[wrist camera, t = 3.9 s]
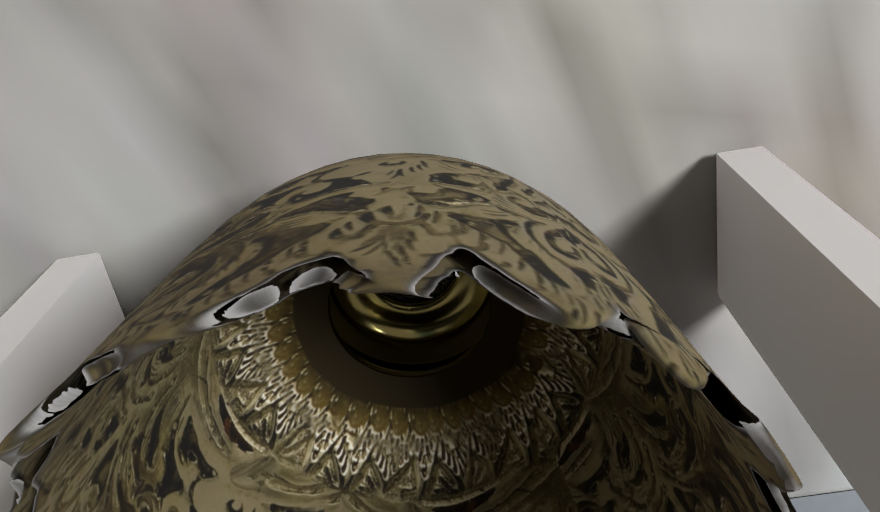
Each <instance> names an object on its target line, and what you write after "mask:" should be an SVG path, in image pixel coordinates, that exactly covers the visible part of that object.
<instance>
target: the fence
mask: <svg viewBox="0 0 880 512" xmlns="http://www.w3.org/2000/svg"><path fill="white" fill-rule="evenodd" d="M790 501H791V503H792V505H793V506H794V508H795V510H796V512H870V511H869V510H868V508H867V507H866V505H865V504H864V502H863V501H862V500H861V498H860V497H859V495H858V494H857V492H856V491H855V490H852V491H845V492H837V493H830V494H822V495H815V496H807V497H800V498H793V499H790Z"/></svg>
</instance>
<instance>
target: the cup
mask: <svg viewBox="0 0 880 512" xmlns="http://www.w3.org/2000/svg"><path fill="white" fill-rule="evenodd" d="M453 271H455V277H454V279H453V281H452V283H451V284H450V286H449V287H448V288H447V289H446V290H445V291H444V292H443V293H442V294H440V295H439V296H437V297H435V298H433V297H429V296H430V295H429V294H430V293H432V291H434V289H435V288H436V286H437V284H438V282H439V281H440V280H442V279H443V278H445V277H448V276H450V274H451V273H452V272H453ZM382 293H399V294H408V295H414V296H420V297H425V298H433V299H431V300H428V301H425V302H420V303H403V302H398V301H395V300H392V299H390V298H388V297H386V296H385V295H383V294H382ZM0 460H1V461H4V462H5V463H7V464H8V465H10V466H11V467H13V465H14V464H15V463H16V465H15V466H14V468H13V470H12V472H11V475H10V477H11V478H12V479H14V480H12V481H10V482H9V484H10V485H11V486H12V487H13V488H14V489H15V490H14V495H13V501H12V506H11V509H10V511H9V512H796V510H795V508H794V506H793V505H792V503H791V501H790V499H789V497H788V495H787V492H794V491H797V490H799V489H801V488H802V486H803V485H802V483H801V481H800V479H799V477H798V476H797V474H796V472H795V471H794V469H793V467H792V466H791V464H790V462H789V461H788V459H787V458H786V456H785V454H784V453H783V452H782V450H781V449H780V447H779V446H778V444H777V443H776V441H775V440H774V438H773V437H772V435H771V434H770V433H769V431H768V430H767V429H766V427H765V426H764V425H763V423H762V422H761V420H760V419H759V418H758V417H757V416H755V415H754V414H753V413H752V412H750V411H749V410H748V409H747V408H746V407H745V406H744V405H742V404H741V402H740V401H739V400H738V399H737V398H736V397H735V396H734V395H733V394H732V393H731V391H730V390H729V389H728V388H727V387H726V385H725V384H724V383H723V382H722V381H721V379H720V378H719V377H718V376H717V375H716V374H715V372H714V371H713V370H712V369H711V368H710V366H709V365H708V364H707V363H706V361H705V360H704V359H703V358H702V357H701V355H700V354H699V353H698V352H697V351H696V349H695V348H694V347H693V346H692V345H691V343H690V342H689V341H688V340H687V339H686V337H685V336H684V335H683V334H682V333H681V331H680V330H679V329H678V328H677V327H676V325H675V324H674V323H673V322H672V321H671V319H670V318H669V317H668V316H667V315H666V313H665V312H664V311H663V310H662V309H661V308H660V306H659V305H658V304H657V303H656V302H655V300H654V299H653V298H652V297H651V296H650V295H649V293H648V292H647V291H646V290H645V289H644V288H643V287H642V285H641V284H640V283H639V282H638V281H637V280H636V278H635V277H634V276H633V275H632V274H631V273H630V271H629V270H628V269H627V268H626V267H625V266H624V265H623V263H622V262H621V261H620V260H619V259H618V258H617V257H616V255H615V254H614V253H613V252H612V251H611V250H610V249H609V248H608V247H607V246H606V245H605V244H604V243H603V242H602V241H601V240H600V239H599V238H598V237H597V236H596V235H595V234H593V233H592V232H591V231H590V230H589V229H588V228H587V227H586V226H584V225H583V224H582V223H581V222H580V221H579V220H578V219H577V218H575V217H574V216H573V215H572V214H571V213H569V212H568V211H567V210H566V209H564V208H563V207H562V206H560V205H559V204H557V203H556V202H554V201H553V200H552V199H550V198H549V197H547V196H546V195H544V194H543V193H541V192H539V191H537V190H535V189H534V188H532V187H530V186H528V185H526V184H524V183H522V182H521V181H519V180H517V179H515V178H513V177H511V176H509V175H506V174H504V173H501V172H499V171H496V170H494V169H491V168H489V167H486V166H483V165H480V164H476V163H472V162H469V161H465V160H462V159H457V158H451V157H445V156H439V155H432V154H415V153H396V154H378V155H371V156H365V157H359V158H353V159H349V160H345V161H341V162H338V163H334V164H330V165H327V166H324V167H321V168H319V169H316V170H314V171H311V172H309V173H306V174H304V175H301V176H299V177H296V178H294V179H292V180H290V181H288V182H286V183H284V184H282V185H280V186H278V187H277V188H275V189H273V190H271V191H269V192H267V193H265V194H264V195H263V196H261V197H260V198H258V199H257V200H255V201H254V202H253V203H251V204H250V205H248V206H247V207H246V208H244V209H243V210H241V211H240V212H239V213H237V214H236V215H234V216H233V217H232V218H230V219H229V220H227V221H226V222H225V223H224V224H223V225H222V226H221V227H220V228H218V229H217V230H216V231H215V232H214V233H213V234H212V235H211V236H210V237H208V238H207V239H206V240H205V241H204V242H203V243H202V244H201V245H200V246H198V247H197V248H196V249H195V250H194V251H193V252H192V253H191V254H190V255H188V256H187V257H186V258H185V259H184V260H183V261H182V262H181V263H180V264H179V265H178V266H177V267H176V268H175V269H174V270H173V271H172V272H171V273H170V274H169V275H168V276H167V277H166V278H165V279H164V280H163V281H162V282H161V283H160V284H159V285H158V286H157V287H156V288H155V289H154V290H153V291H152V292H151V293H150V294H149V295H148V296H147V297H146V298H145V299H144V300H143V301H142V302H141V303H140V304H139V305H138V306H137V307H136V308H135V309H134V310H133V311H132V312H131V313H130V314H129V315H128V316H127V317H126V318H125V319H124V320H123V321H122V323H121V324H120V325H119V326H118V327H117V328H116V329H115V330H114V331H113V332H112V333H111V334H110V335H109V336H108V337H107V338H106V339H105V340H104V341H103V342H102V343H101V344H100V345H99V346H98V347H97V348H96V349H95V350H94V351H93V352H92V353H91V354H90V355H89V356H88V357H87V358H86V359H85V361H84V362H83V363H82V364H81V365H80V366H79V367H78V368H77V369H76V370H75V371H74V372H73V373H72V374H71V375H70V376H69V377H68V378H67V379H66V380H65V381H64V382H63V383H62V384H60V385H59V386H58V387H57V388H56V389H55V390H54V391H53V392H52V393H50V394H49V395H48V396H47V397H46V398H45V399H44V400H43V401H42V402H41V403H40V404H38V405H37V406H36V407H35V408H34V409H33V410H32V411H31V412H30V413H29V414H28V415H27V416H26V417H25V418H24V419H23V420H22V421H21V422H20V423H19V424H18V425H17V426H16V427H15V428H14V429H12V430H11V431H10V432H9V433H8V434H7V435H6V437H5V438H4V439H3V441H2V442H1V443H0Z"/></svg>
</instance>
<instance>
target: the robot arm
mask: <svg viewBox="0 0 880 512" xmlns="http://www.w3.org/2000/svg"><path fill="white" fill-rule="evenodd" d="M716 169H717V266H718V296H719V297H720V298H721V300H722V301H723V303H724V304H725V306H726V307H727V308H728V310H729V311H730V313H731V314H732V316H733V317H734V318H735V320H736V321H737V323H738V324H739V326H740V327H741V328H742V330H743V331H744V333H745V334H746V336H747V337H748V338H749V340H750V341H751V343H752V344H753V346H754V347H755V348H756V350H757V351H758V353H759V354H760V356H761V357H762V358H763V360H764V361H765V363H766V364H767V366H768V367H769V368H770V370H771V371H772V373H773V374H774V376H775V377H776V378H777V380H778V381H779V383H780V384H781V386H782V387H783V388H784V390H785V391H786V393H787V394H788V395H789V397H790V398H791V400H792V401H793V403H794V404H795V405H796V407H797V408H798V410H799V411H800V413H801V414H802V415H803V417H804V418H805V420H806V421H807V423H808V424H809V425H810V427H811V428H812V430H813V431H814V433H815V434H816V435H817V437H818V438H819V440H820V441H821V443H822V444H823V445H824V447H825V448H826V450H827V451H828V453H829V454H830V455H831V457H832V458H833V460H834V461H835V463H836V464H837V465H838V467H839V468H840V470H841V471H842V473H843V474H844V475H845V477H846V478H847V480H848V481H849V483H850V484H851V485H852V487H853V488H854V490H855V491H856V492H857V494H858V495H859V497H860V498H861V500H862V501H863V502H864V504H865V505H866V507H867V508H868V510H869V511H870V512H880V239H879V238H877V237H876V236H875V235H874V234H872V233H871V232H870V231H869V230H867V229H866V228H865V227H864V226H862V225H861V224H860V223H859V222H857V221H856V220H855V219H854V218H852V217H851V216H850V215H849V214H847V213H846V212H845V211H843V210H842V209H841V208H840V207H838V206H837V205H836V204H835V203H833V202H832V201H831V200H830V199H828V198H827V197H826V196H825V195H823V194H822V193H821V192H820V191H818V190H817V189H816V188H815V187H813V186H812V185H811V184H809V183H808V182H807V181H806V180H804V179H803V178H802V177H801V176H799V175H798V174H797V173H796V172H794V171H793V170H792V169H791V168H789V167H788V166H787V165H786V164H784V163H783V162H782V161H780V160H779V159H778V158H777V157H775V156H774V155H773V154H772V153H770V152H769V151H768V150H767V149H765V148H764V147H763V146H759V147H753V148H746V149H740V150H734V151H728V152H721V153H716ZM124 319H125V317H124V315H123V312H122V310H121V307H120V305H119V302H118V299H117V297H116V294H115V292H114V289H113V287H112V284H111V282H110V279H109V277H108V274H107V272H106V269H105V267H104V264H103V262H102V259H101V257H100V254H99V253H93V254H87V255H80V256H74V257H68V258H62V259H57V260H56V261H55V262H54V263H53V264H52V265H51V266H50V267H49V268H48V269H47V270H46V271H45V272H44V273H43V274H42V275H41V277H40V278H39V279H38V280H37V281H36V282H35V283H34V284H33V285H32V286H31V287H30V288H29V289H28V290H27V291H26V292H25V293H24V294H23V295H22V296H21V297H20V298H19V299H18V300H17V301H16V302H15V303H14V304H13V305H12V306H11V307H10V308H9V309H8V310H7V311H6V313H5V314H4V315H3V316H2V317H1V318H0V443H1V442H2V441H3V439H4V438H5V437H6V435H7V434H8V433H9V432H10V431H11V430H12V429H14V428H15V427H16V426H17V425H18V424H19V423H20V422H21V421H22V420H23V419H24V418H25V417H26V416H27V415H28V414H29V413H30V412H31V411H32V410H33V409H34V408H35V407H36V406H37V405H38V404H40V403H41V402H42V401H43V400H44V399H45V398H46V397H47V396H48V395H49V394H50V393H52V392H53V391H54V390H55V389H56V388H57V387H58V386H59V385H60V384H62V383H63V382H64V381H65V380H66V379H67V378H68V377H69V376H70V375H71V374H72V373H73V372H74V371H75V370H76V369H77V368H78V367H79V366H80V365H81V364H82V363H83V362H84V361H85V359H86V358H87V357H88V356H89V355H90V354H91V353H92V352H93V351H94V350H95V349H96V348H97V347H98V346H99V345H100V344H101V343H102V342H103V341H104V340H105V339H106V338H107V337H108V336H109V335H110V334H111V333H112V332H113V331H114V330H115V329H116V328H117V327H118V326H119V325H120V324H121V323H122V321H123V320H124ZM15 465H16V463H15V464H14V465H13V467H11V466H10V465H8V464H7V463H5V462H4V461H1V460H0V512H9V511H10V509H11V506H12V501H13V495H14V490H15V489H14V488H13V487H12V486H11V485H10V484H9V482H10V481H12V480H14V479H12V478H11V477H10V475H11V472H12V470H13V468H14V466H15Z"/></svg>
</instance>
